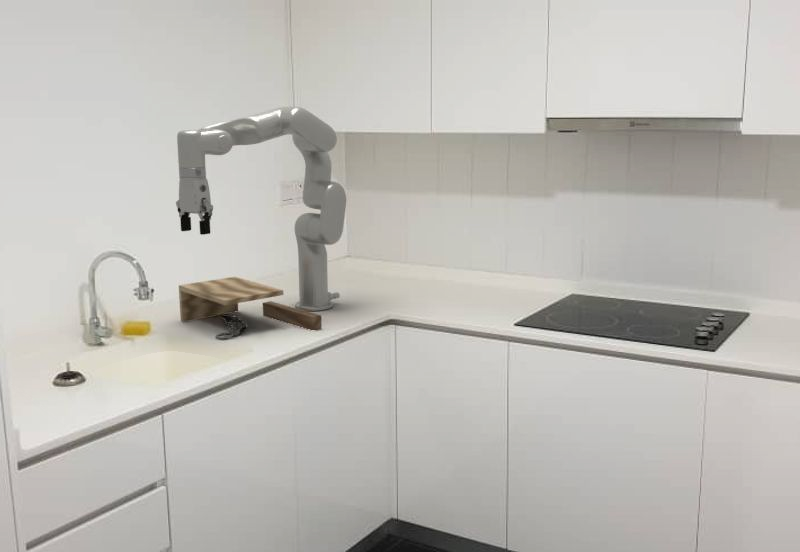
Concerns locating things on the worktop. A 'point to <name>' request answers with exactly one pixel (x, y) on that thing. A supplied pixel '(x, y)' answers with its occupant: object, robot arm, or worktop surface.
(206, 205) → the robot arm
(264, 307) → the batten
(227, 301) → the riser
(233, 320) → the grey crescent piece
